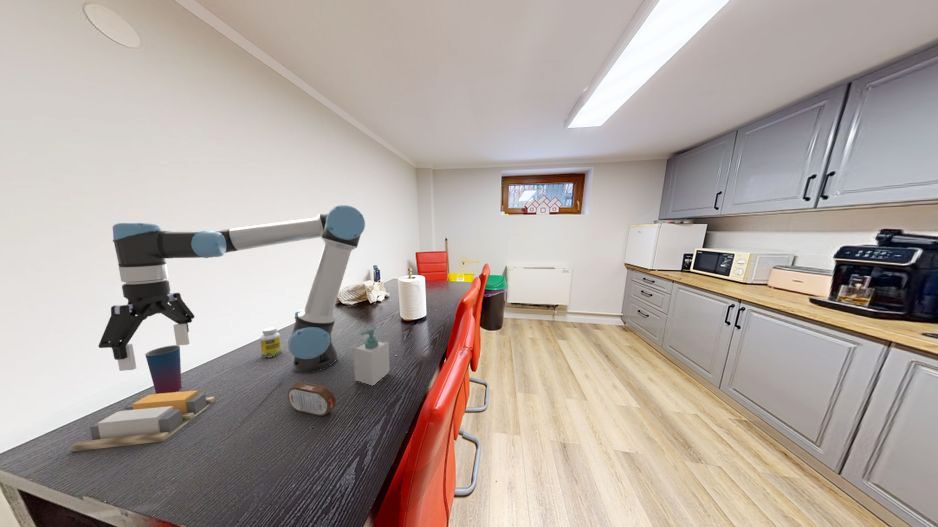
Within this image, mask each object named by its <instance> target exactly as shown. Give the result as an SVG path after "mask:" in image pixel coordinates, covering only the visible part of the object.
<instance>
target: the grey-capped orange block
mask: <svg viewBox="0 0 938 527" xmlns="http://www.w3.org/2000/svg"><path fill="white" fill-rule="evenodd" d="M206 397H207V396H206V393H199V391H198V390H187V391H177V392H172V393H160V394H156V393H152V394H147V395H146V396H144V397H142V398H139V399H137V400H136V401H134V402H132V403H131V404H129V405H126V407H125V411H126V410H136V409H147V408H157V407H168V406H173V409H174V410H180V409H181V411H182V414H184V413H194V414H197V413H198V412H199V411H201V410H202V409H203V408H205V407H206V406H207V403H206Z"/></svg>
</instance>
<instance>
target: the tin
mask: <svg viewBox="0 0 938 527" xmlns="http://www.w3.org/2000/svg"><path fill="white" fill-rule="evenodd" d="M287 400H288V402H289V405H290V406H291V407H292V408H293V410H296V411H298V412H300V413H306V414H309V415H313V416H318V417H324V416H326V415H327V414H328V413H330V412H331V411H332V410H333V409H334V408H335V407H336V402H337V401H336V396H335V394H334V393H333V391H332V390H331V389H330V388H328V387H326V386H324V385H319V384H316V383H315V384H314V383H310V382H304V381H299V382H297V383H296V384H294V385H293V386H292V387H291V388H290V389H289V390H288V391H287Z"/></svg>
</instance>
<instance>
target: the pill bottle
mask: <svg viewBox="0 0 938 527" xmlns="http://www.w3.org/2000/svg"><path fill="white" fill-rule="evenodd" d="M277 331H278V329H277V327H276V326H270V327H266V328H264V329H263V330H262V334H263V335H262V336H260V350H261V357H262V358H265V357H268V358H272V356H273V357H276V356H278V355H279V353H282V346H281V345H282V344H281V334H280V333H279V332H277ZM277 354H278V355H277ZM275 355H276V356H275Z"/></svg>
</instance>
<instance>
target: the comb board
mask: <svg viewBox="0 0 938 527" xmlns="http://www.w3.org/2000/svg"><path fill="white" fill-rule="evenodd" d="M215 401H216V397H215V396H208V397H207V396H206V403H207V406H206V407H205V408H203V409H202V410H201V411H199V412H198V413H197V414H194V413H184V414H182V418H183V423H182V424H181V425H180V426H178V427H177V428H176V429H174V430H173V431H172V432H171V433H168V432H164V433H154V434H145V435H135V436H126V437H117V438H107V439H98V440H92V439H91V440H82V441H81V440H80V441H77V442H76V443H74V444H73V445H71V449H72V452H78V451H89V450H94V449H95V450H97V449H104V448H105V449H106V448H114V447H123V446H133V445H141V444H150V443H161V442H165V441H166V440H168V439H169V438H170V437H172V436H173V435H174V434H175V433H176V432H178V431H179V430H180V429H182V428H183V427H184V426H185V425H186V424H188V423H189V422H190V421H191V420H193V419H194V418H196V417H197V416H198V415H199V414H201V413H202V412H203V411H204V410H206V409H207V408H209V406H211V405H213V403H214V402H215Z"/></svg>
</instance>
